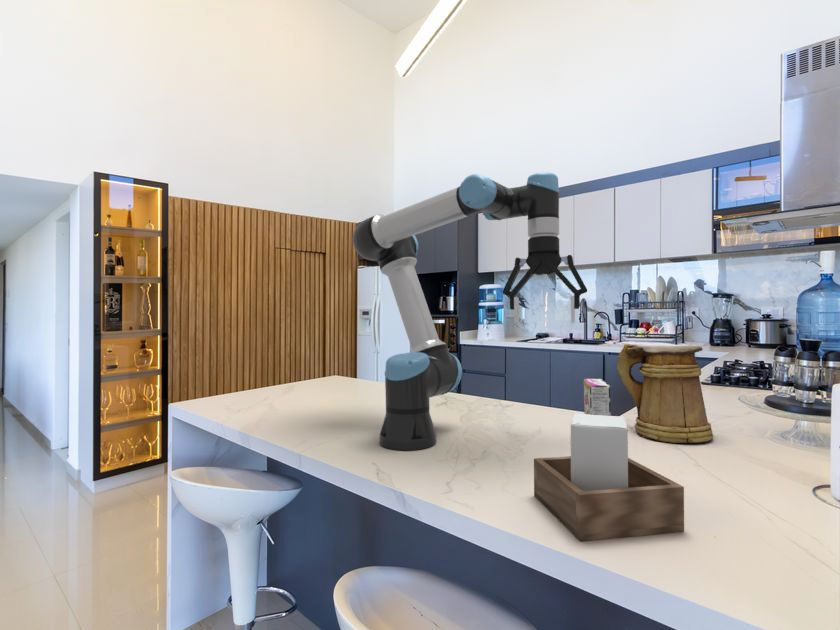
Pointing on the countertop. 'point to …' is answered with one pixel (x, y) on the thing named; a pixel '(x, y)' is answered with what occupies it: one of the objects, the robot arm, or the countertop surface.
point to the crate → (610, 502)
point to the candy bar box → (596, 397)
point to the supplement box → (599, 452)
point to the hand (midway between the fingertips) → (544, 322)
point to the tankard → (666, 393)
